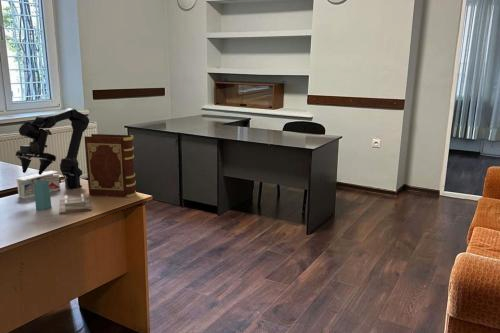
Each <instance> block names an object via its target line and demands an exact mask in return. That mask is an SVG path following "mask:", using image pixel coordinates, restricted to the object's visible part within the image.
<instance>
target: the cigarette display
mask: <svg viewBox="0 0 500 333" xmlns="http://www.w3.org/2000/svg"><path fill="white" fill-rule="evenodd" d="M58 173H59V172H58V171H56V170H48V171H44V172H43V173H42V174H41V175H39V173H35V174H31V175H26V176H22V177H18V178H17V177H16V178H15V179H16V183H17V185H16V187H17V192H18V193H17V194H18V198H23V199H29V197H30V198H32V197H33V198H34V197H35V195H34V187H33V184H35V183H36V182H38V181H49V189H50V193H52V192H54V191H57V190H58V189H59V190H60V189H61V186H60V176H59V174H58ZM54 174H56V175H54Z"/></svg>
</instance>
